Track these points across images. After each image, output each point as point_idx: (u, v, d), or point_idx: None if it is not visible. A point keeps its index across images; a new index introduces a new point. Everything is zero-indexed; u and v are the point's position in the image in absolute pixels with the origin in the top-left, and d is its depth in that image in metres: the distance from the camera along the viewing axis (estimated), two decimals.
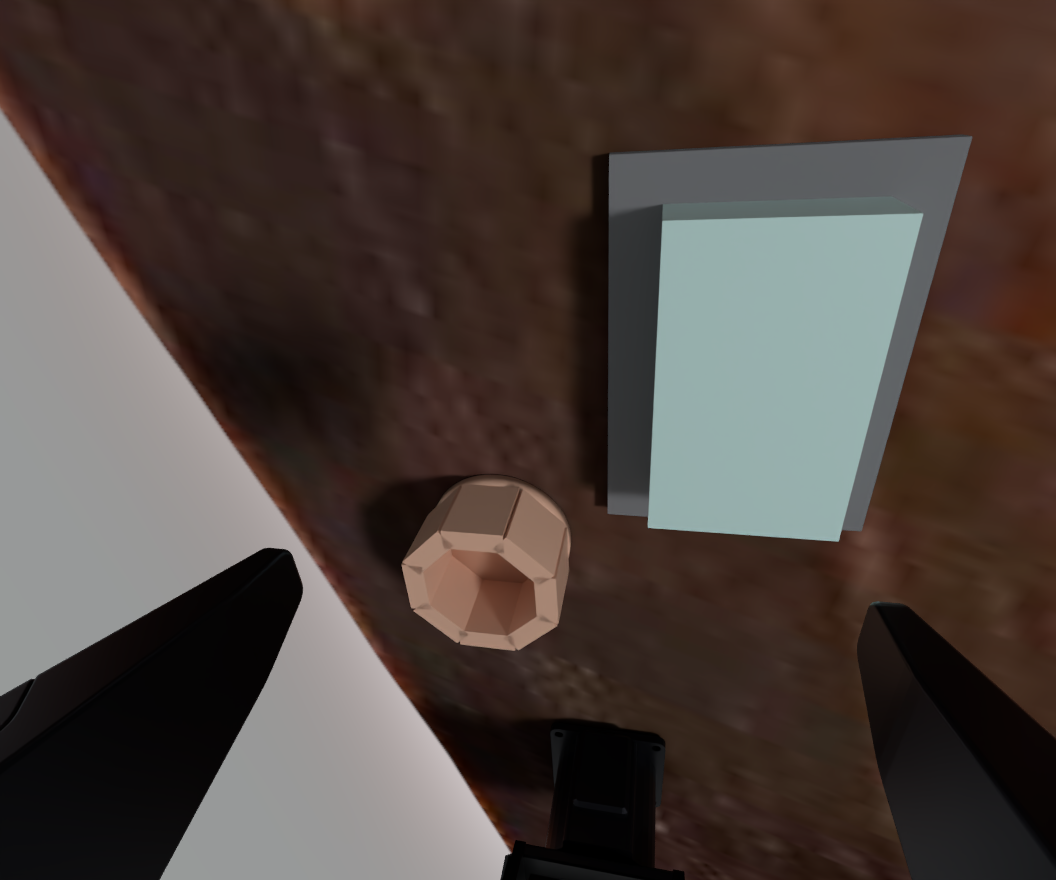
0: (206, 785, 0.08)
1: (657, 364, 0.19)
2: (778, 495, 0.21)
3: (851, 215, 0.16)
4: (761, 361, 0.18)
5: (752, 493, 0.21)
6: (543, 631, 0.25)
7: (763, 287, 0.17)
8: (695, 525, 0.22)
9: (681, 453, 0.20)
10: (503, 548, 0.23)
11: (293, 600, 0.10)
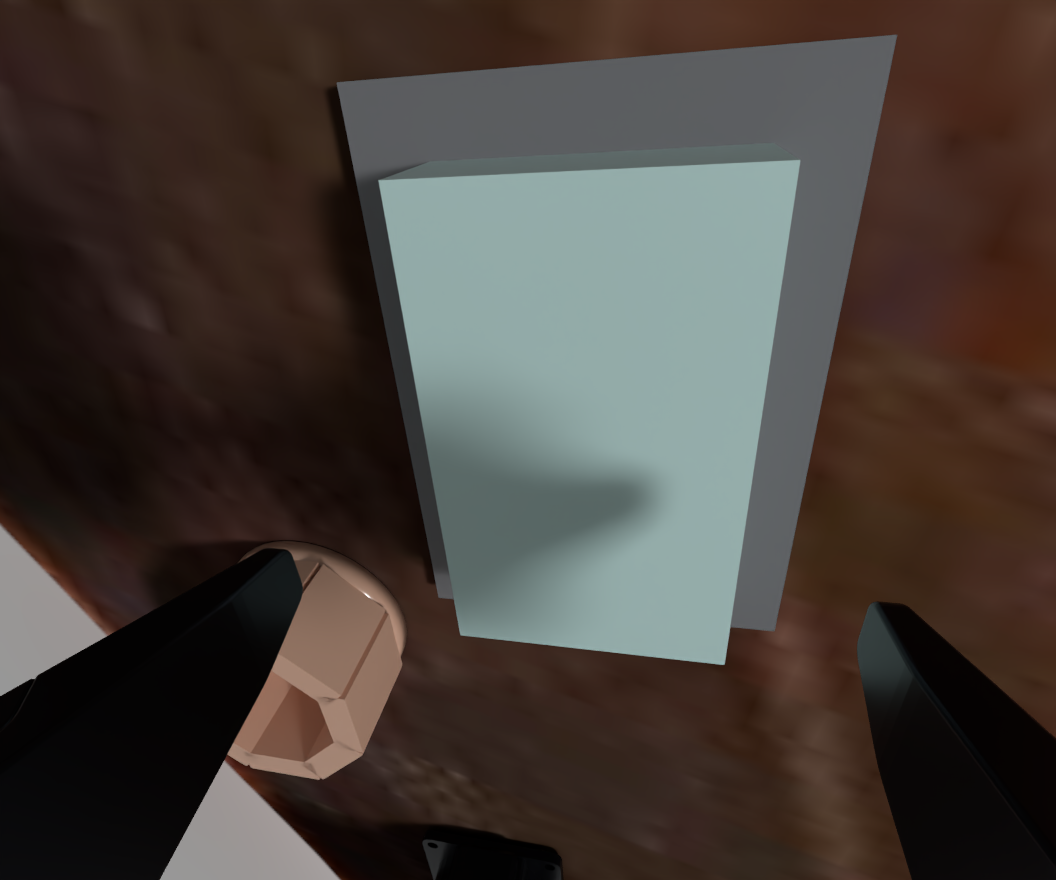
0: (206, 785, 0.08)
1: (423, 411, 0.12)
2: (630, 601, 0.14)
3: (679, 166, 0.09)
4: (573, 409, 0.12)
5: (593, 596, 0.14)
6: (346, 759, 0.18)
7: (555, 291, 0.10)
8: (523, 635, 0.15)
9: (483, 539, 0.14)
10: None
11: (293, 600, 0.10)
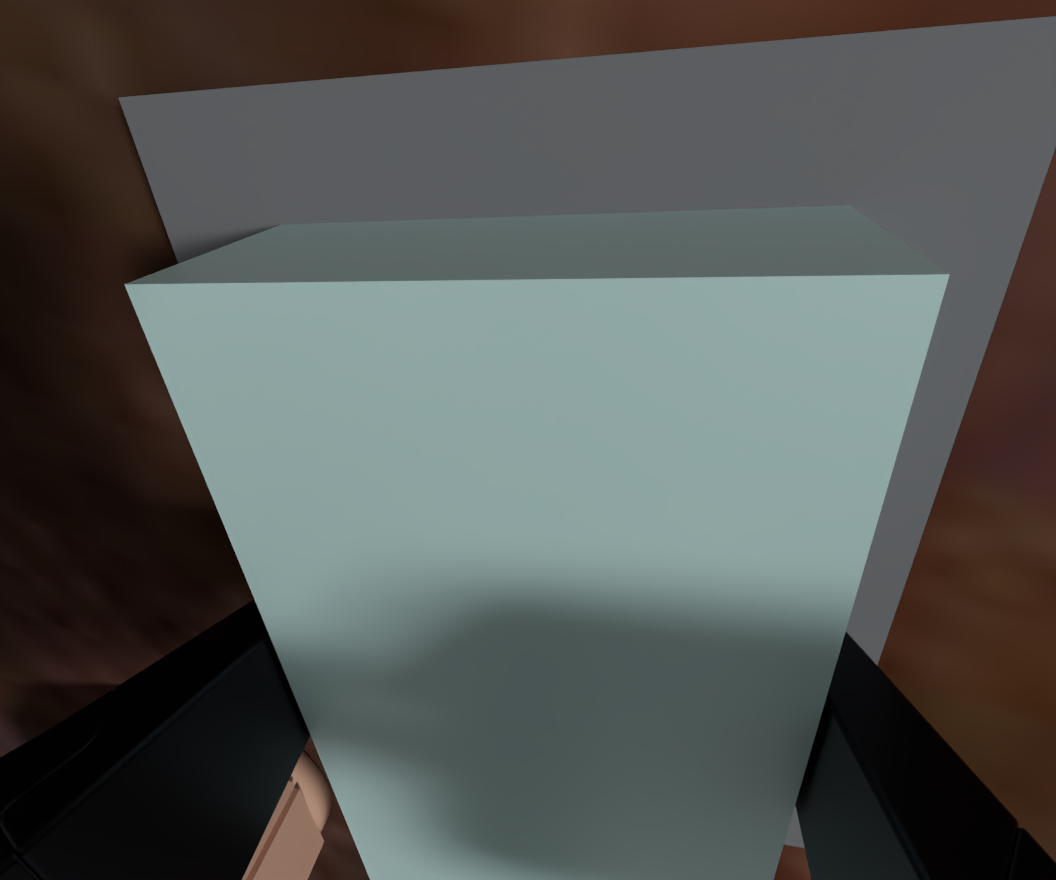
0: (277, 798, 0.08)
1: (270, 626, 0.08)
2: (609, 876, 0.09)
3: (688, 276, 0.04)
4: (507, 646, 0.07)
5: (554, 865, 0.09)
6: None
7: (462, 478, 0.06)
8: None
9: (387, 786, 0.09)
10: None
11: None
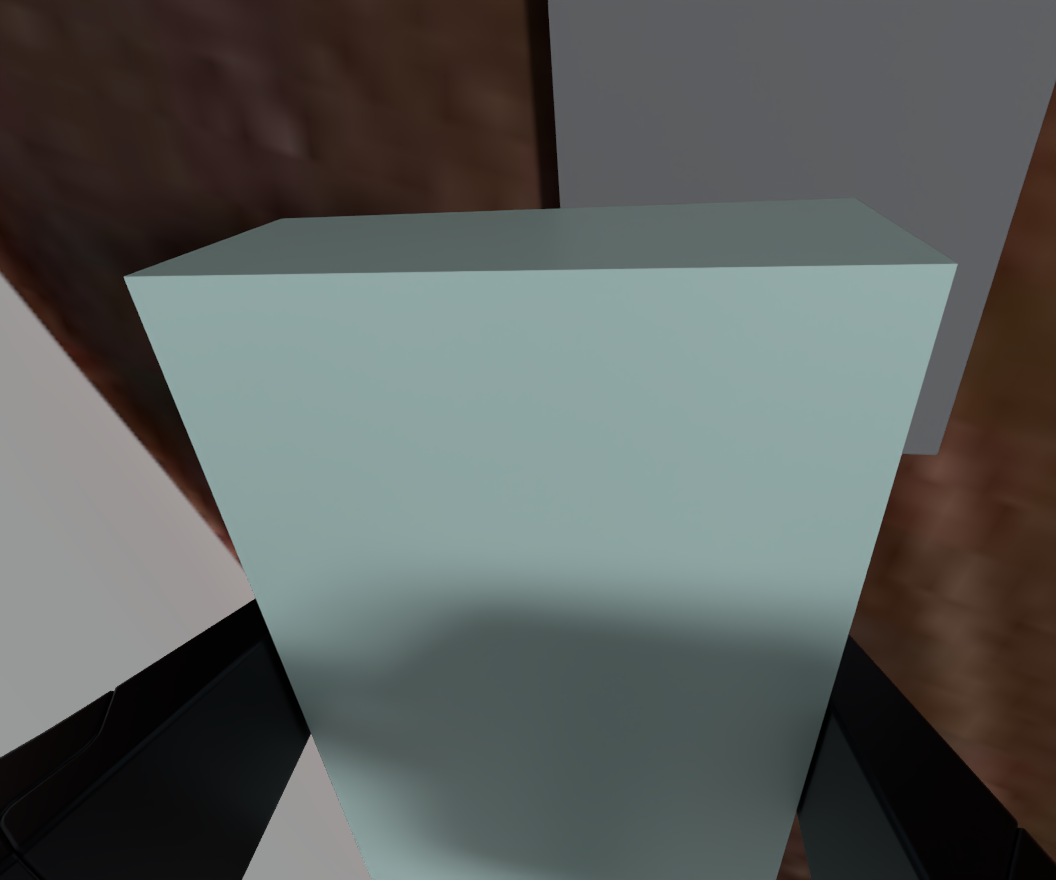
0: (276, 797, 0.08)
1: (270, 623, 0.08)
2: (611, 874, 0.09)
3: (693, 267, 0.04)
4: (508, 642, 0.07)
5: (557, 864, 0.09)
6: None
7: (464, 473, 0.06)
8: None
9: (388, 784, 0.09)
10: None
11: None
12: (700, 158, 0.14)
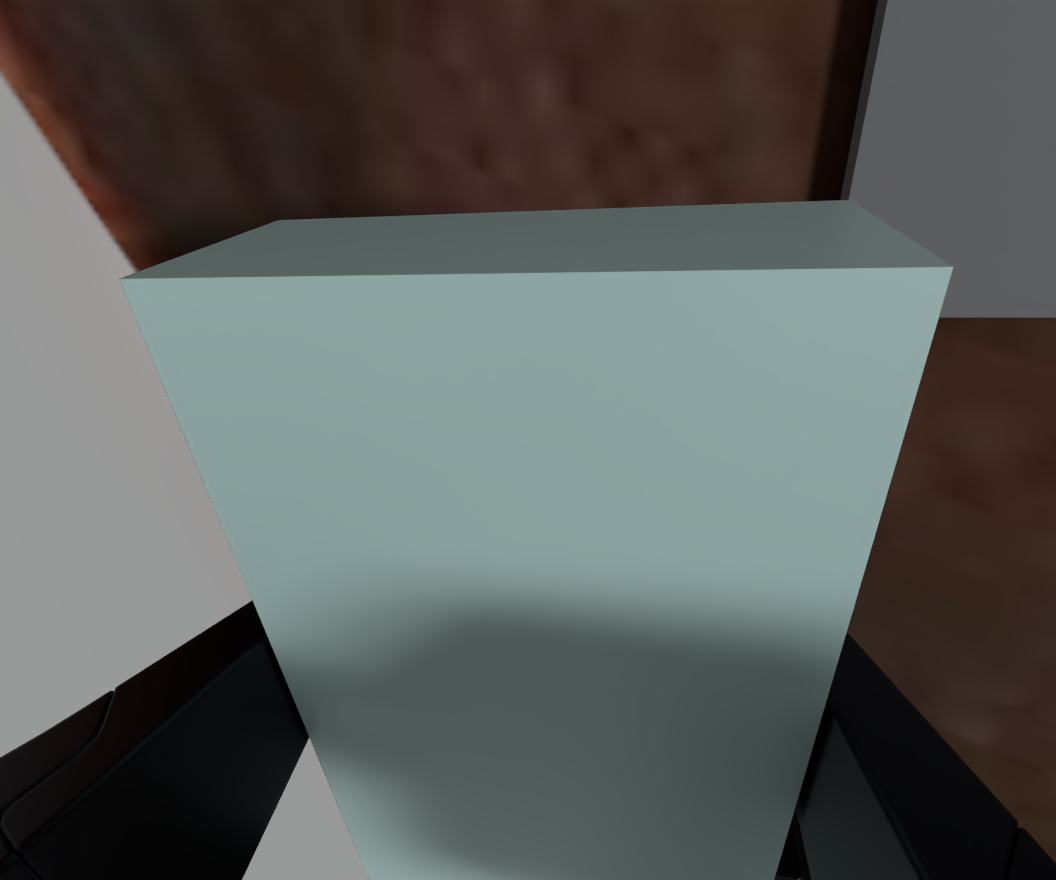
0: (276, 798, 0.08)
1: (267, 625, 0.08)
2: (608, 876, 0.09)
3: (689, 270, 0.04)
4: (505, 644, 0.07)
5: (554, 866, 0.09)
6: None
7: (460, 475, 0.06)
8: None
9: (385, 786, 0.09)
10: None
11: None
12: None
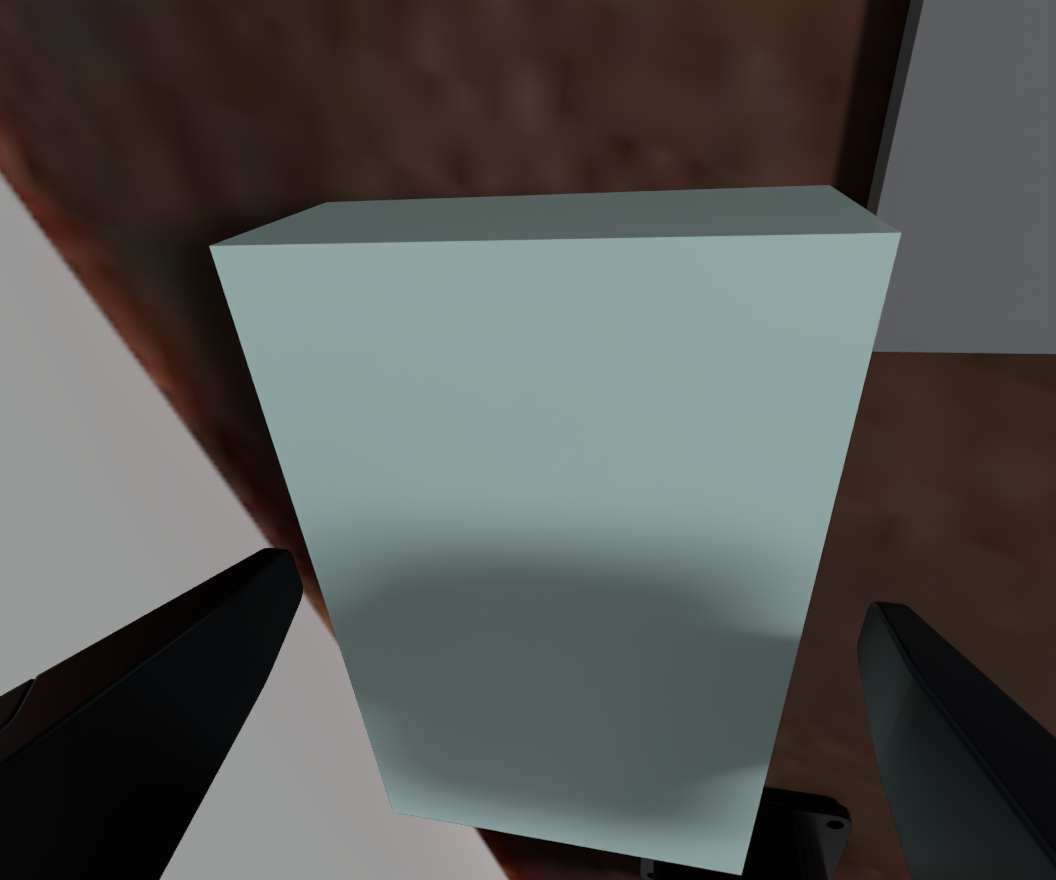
0: (206, 785, 0.08)
1: (315, 560, 0.09)
2: (614, 797, 0.10)
3: (690, 236, 0.05)
4: (528, 572, 0.08)
5: (565, 788, 0.10)
6: None
7: (494, 416, 0.07)
8: (474, 819, 0.11)
9: (413, 714, 0.10)
10: None
11: (293, 600, 0.10)
12: None
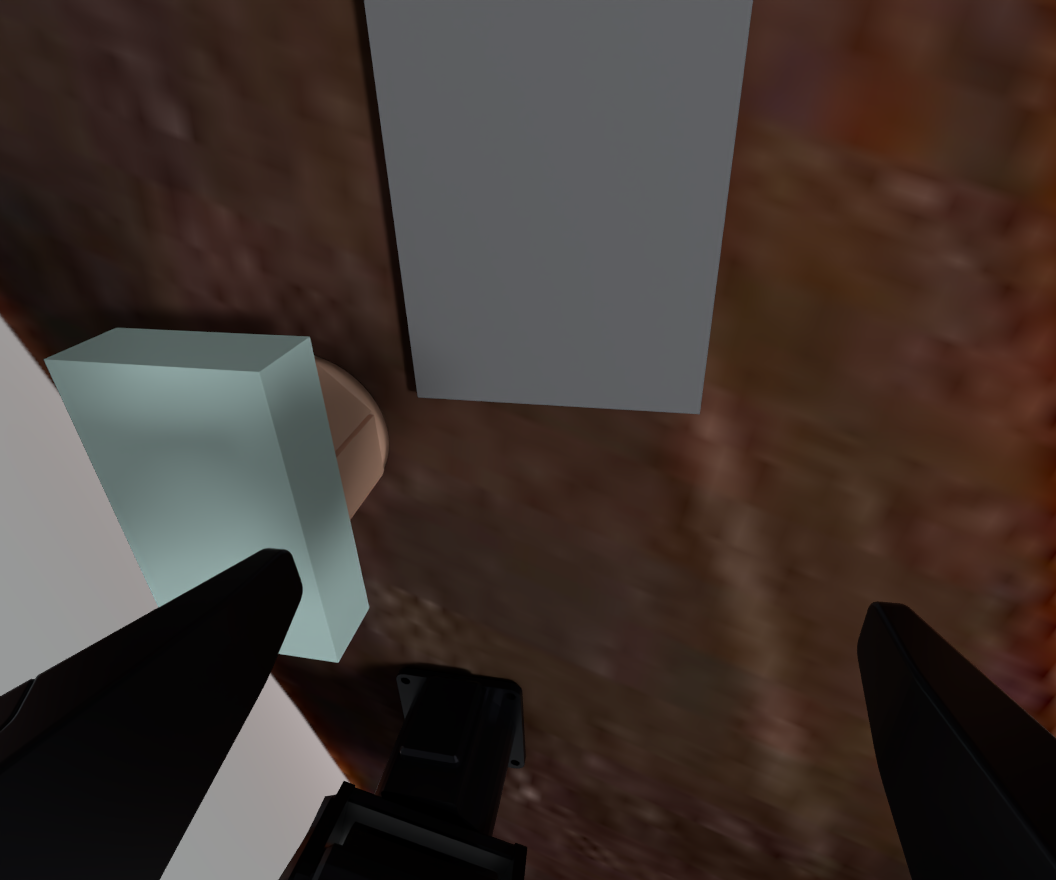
0: (206, 785, 0.08)
1: (105, 489, 0.19)
2: None
3: (202, 368, 0.16)
4: (191, 494, 0.18)
5: None
6: None
7: (158, 427, 0.17)
8: None
9: (166, 572, 0.20)
10: None
11: (293, 600, 0.10)
12: (492, 159, 0.17)
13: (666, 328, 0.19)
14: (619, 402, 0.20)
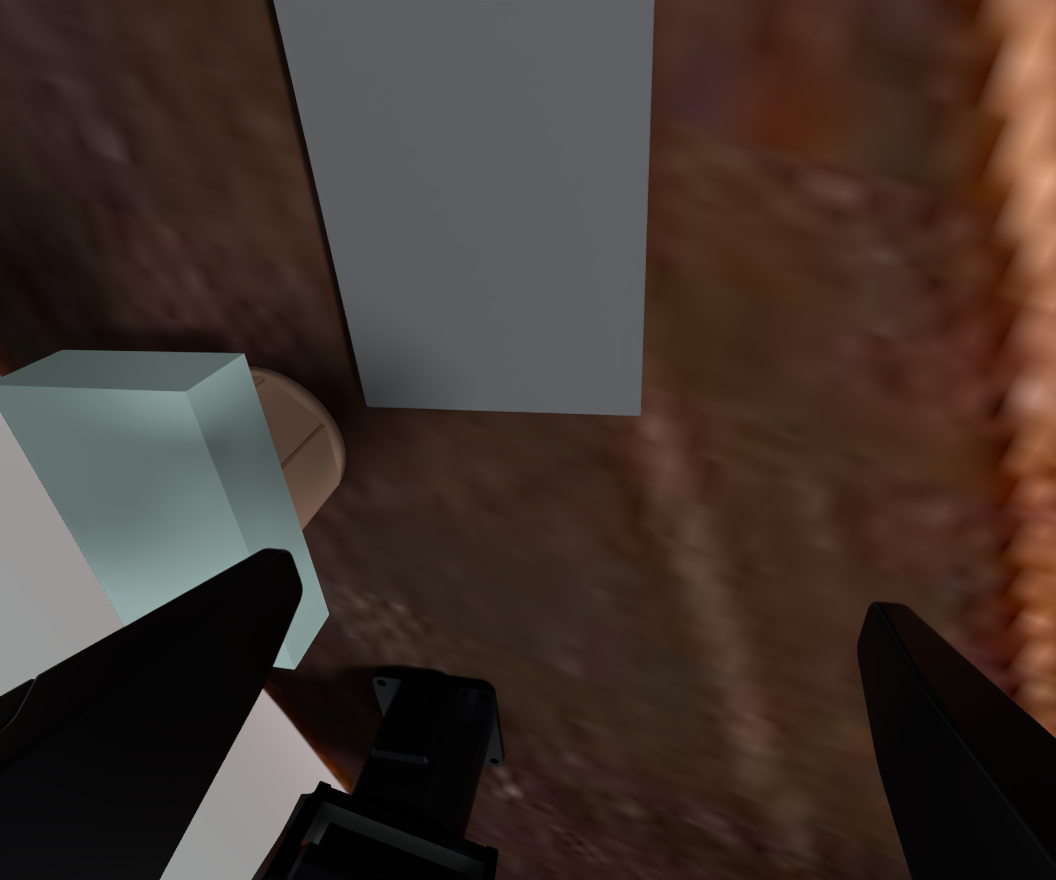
0: (206, 785, 0.08)
1: (58, 507, 0.19)
2: None
3: (132, 389, 0.16)
4: (137, 510, 0.18)
5: None
6: None
7: (99, 447, 0.17)
8: None
9: (123, 585, 0.21)
10: None
11: (293, 600, 0.10)
12: (416, 171, 0.17)
13: (599, 332, 0.19)
14: (561, 406, 0.21)
